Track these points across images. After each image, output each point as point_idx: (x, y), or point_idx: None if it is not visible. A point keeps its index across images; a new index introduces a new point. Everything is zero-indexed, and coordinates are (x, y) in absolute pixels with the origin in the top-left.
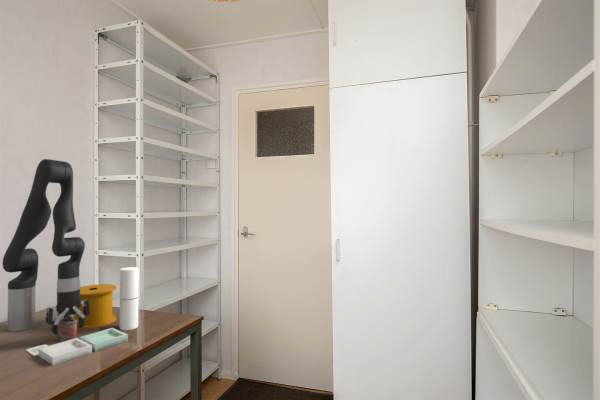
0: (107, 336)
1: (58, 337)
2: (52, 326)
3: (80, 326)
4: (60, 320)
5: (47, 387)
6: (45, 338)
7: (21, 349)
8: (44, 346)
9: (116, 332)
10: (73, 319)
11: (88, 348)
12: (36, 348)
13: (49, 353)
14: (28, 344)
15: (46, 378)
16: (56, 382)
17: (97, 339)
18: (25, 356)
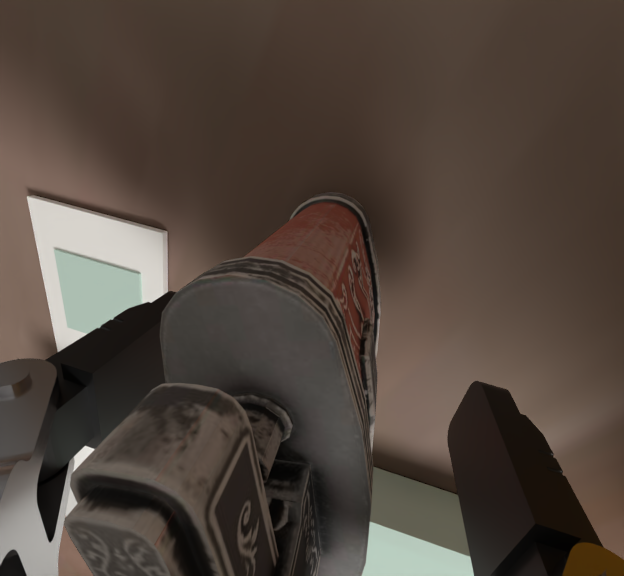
0: (462, 572)
1: (290, 217)
2: (60, 368)
3: (453, 443)
4: (183, 365)
5: (58, 568)
6: (245, 3)
7: (10, 127)
8: (135, 286)
9: None
10: (359, 544)
11: None
12: (85, 263)
13: (71, 503)
14: (68, 35)
15: (66, 539)
16: (82, 573)
17: (387, 545)
18: (26, 302)
